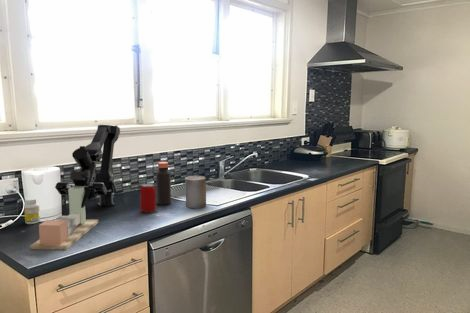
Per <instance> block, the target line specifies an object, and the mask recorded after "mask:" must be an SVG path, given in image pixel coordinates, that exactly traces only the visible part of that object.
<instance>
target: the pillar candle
mask: <svg viewBox="0 0 470 313" xmlns="http://www.w3.org/2000/svg"><path fill="white" fill-rule="evenodd" d="M184 179H185V180H184V181H185V182H184V184H185V187H184V188H185V207H186V208H187V209H202V208H205V207H206V206H207V183H206V180H207V178H206V176H203V175H189V176H186V177H184Z"/></svg>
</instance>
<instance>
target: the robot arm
mask: <svg viewBox="0 0 470 313" xmlns="http://www.w3.org/2000/svg"><path fill="white" fill-rule="evenodd" d="M120 134H121V129H120V127H119V126H118V125H117V124H107V123H105V124H103V123H100V124H98V125H97V130H96V132H95V133H94V135H93V138H92V140H91V141H90V143H89V144H87V145H86V146H85V145H83V146H82V145H80V146H79V148H76V149H75V150H74V151H72V155H71V156H72V158H73V160H74V161H75V163H76V165H77V166H78V167H80V168H79V170H71V171H70V174H69V180H71V181H72V184H74V185H72V184H70V183H68V181H58V182H57V183H56V184H55V187H54V188H55V189H56V191H57V192H58V193H59V195H62V196H67V202H68V205H69V192H68V189H69V188H71V187H84V193H85V195H84V198H83V201H82V205H81V207H82V208H83V207H84V206H85V207H86V205H87V204H88V203H90V202H91V200H93V199H94V198H96V197H97V196H99V202H97V204H98V205H99V206H100V207H101V208H103V207H110V206H115V205H116V203H114V202H113V201H114V200H113V194H115V193H117V190H118V189H117V184H116V183H115V182H116V181H114V180H115V179H114V176H113V174H112V165H113V157H114V147H115V143H116V142H117V141H118V139H119V136H120ZM100 161H101V163H100V168H99V169H100V170H99V172H96V171H97V169H98V168H97V165H96V163H95V162H97V163H99V162H100ZM95 172H96V173H95ZM94 174H95V178H94ZM92 182H93V183H92ZM91 184H92V185H91Z"/></svg>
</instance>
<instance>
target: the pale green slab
mask: <svg viewBox="0 0 470 313" xmlns="http://www.w3.org/2000/svg"><path fill="white" fill-rule="evenodd" d="M68 192H69V204H68V208H69V214H68V215H67V216H76V226H77V225H78V224H83V223H84V222H85V221H86V205H85V206H84V207H83V208H82V207H81V205H82V201H83V198H84V195H85V191H84V187H71V188H69V189H68Z"/></svg>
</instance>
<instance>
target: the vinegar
mask: <svg viewBox="0 0 470 313" xmlns="http://www.w3.org/2000/svg"><path fill="white" fill-rule="evenodd" d="M157 168H158V170H157V171H156V173H155V185H156V186H155V190H156V205H159V206H167V205H170V204H171V203H172V191H171V190H172V188H171V186H172V184H171V183H172V182H171V181H172V180H171V178H172V177H171V171H170V170H169V162H168V161H159V162H157Z"/></svg>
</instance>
